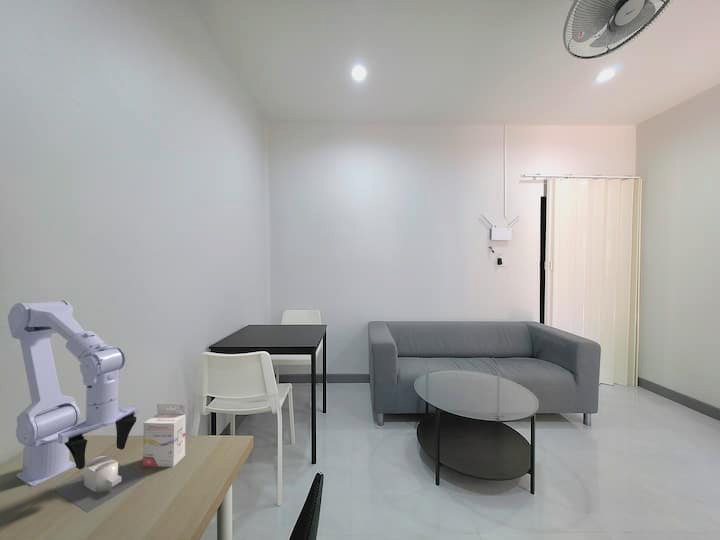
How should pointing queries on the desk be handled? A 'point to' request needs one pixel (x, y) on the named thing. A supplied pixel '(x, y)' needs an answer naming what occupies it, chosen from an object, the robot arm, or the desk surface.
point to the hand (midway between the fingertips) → (101, 457)
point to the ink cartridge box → (165, 436)
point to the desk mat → (91, 499)
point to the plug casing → (101, 474)
